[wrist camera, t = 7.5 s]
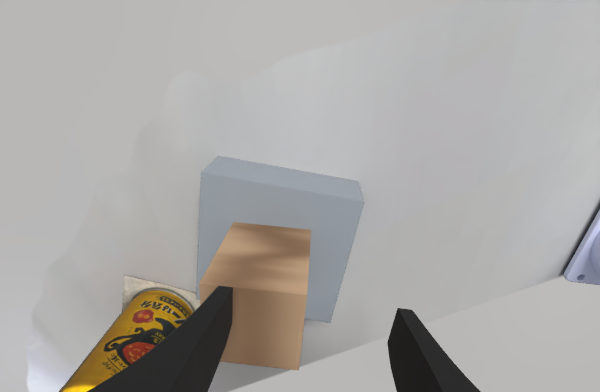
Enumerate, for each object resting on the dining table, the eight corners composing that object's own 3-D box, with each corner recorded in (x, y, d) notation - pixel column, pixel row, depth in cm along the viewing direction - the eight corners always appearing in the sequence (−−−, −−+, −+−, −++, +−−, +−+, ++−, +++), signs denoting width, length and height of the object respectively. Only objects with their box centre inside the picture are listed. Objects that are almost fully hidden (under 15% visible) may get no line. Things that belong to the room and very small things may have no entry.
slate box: (357, 178, 22) (364, 201, 18) (328, 286, 26) (330, 323, 22) (220, 154, 22) (201, 172, 18) (213, 266, 26) (196, 299, 22)
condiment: (208, 295, 27) (129, 456, 16) (194, 359, 30) (121, 528, 19) (126, 272, 26) (-15, 423, 15) (121, 340, 30) (3, 502, 19)
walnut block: (311, 229, 19) (307, 294, 14) (304, 291, 21) (298, 370, 16) (233, 222, 19) (198, 283, 14) (234, 284, 21) (204, 359, 16)
